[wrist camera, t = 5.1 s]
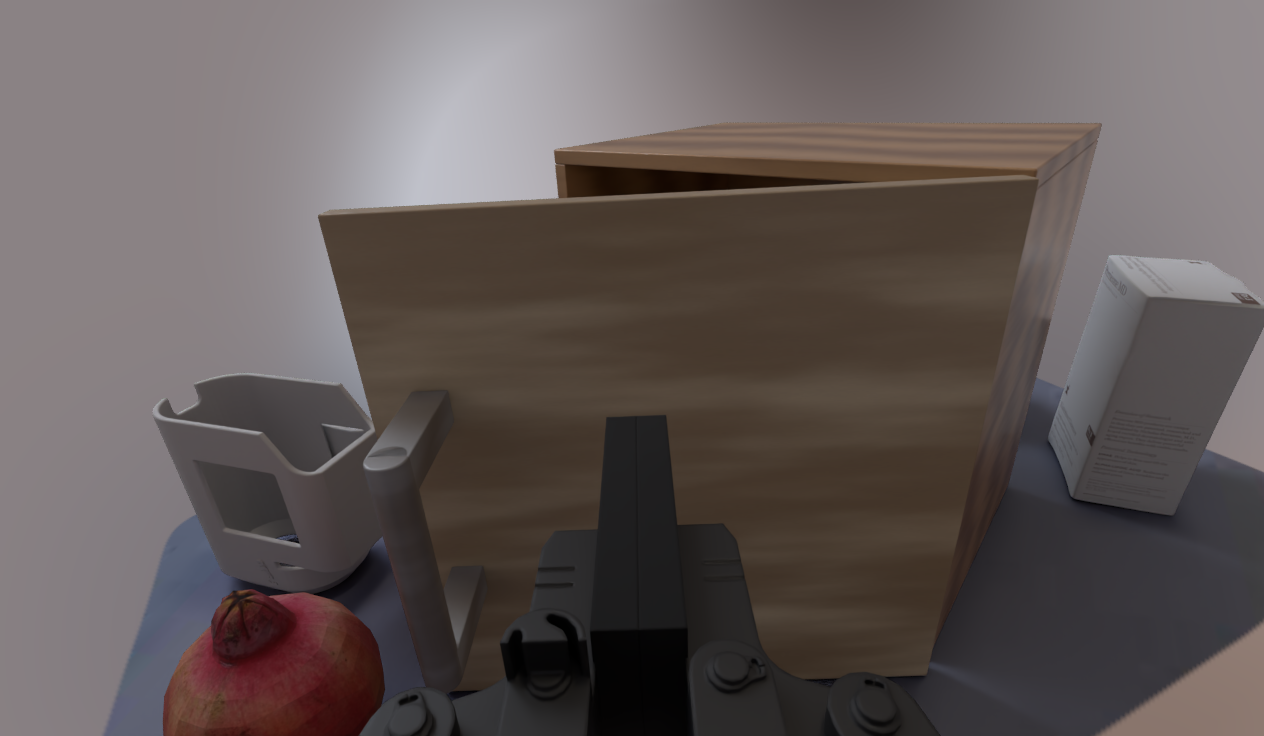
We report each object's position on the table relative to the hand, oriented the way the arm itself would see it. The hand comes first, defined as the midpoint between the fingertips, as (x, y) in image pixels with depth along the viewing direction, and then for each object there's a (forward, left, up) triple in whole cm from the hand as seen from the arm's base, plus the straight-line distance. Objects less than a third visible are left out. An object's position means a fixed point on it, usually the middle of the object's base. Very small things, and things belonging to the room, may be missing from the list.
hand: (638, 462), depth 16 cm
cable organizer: (+27, +1, -18) cm, 32 cm away
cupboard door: (+2, -5, -18) cm, 19 cm away
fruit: (+15, +7, -18) cm, 24 cm away
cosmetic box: (-10, -38, -18) cm, 44 cm away
